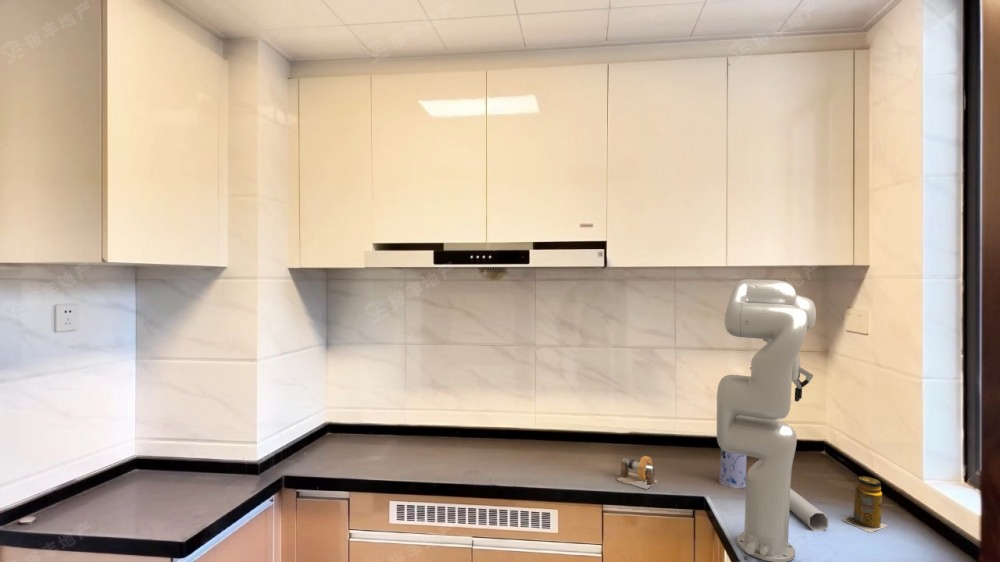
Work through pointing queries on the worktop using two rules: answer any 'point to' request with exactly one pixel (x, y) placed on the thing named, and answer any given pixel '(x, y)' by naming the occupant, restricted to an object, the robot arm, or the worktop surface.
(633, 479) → the base board
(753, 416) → the robot arm
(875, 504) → the condiment
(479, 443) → the worktop surface
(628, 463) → the pipe
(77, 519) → the worktop surface
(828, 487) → the worktop surface
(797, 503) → the tube
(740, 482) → the aerosol can
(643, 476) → the o ring
